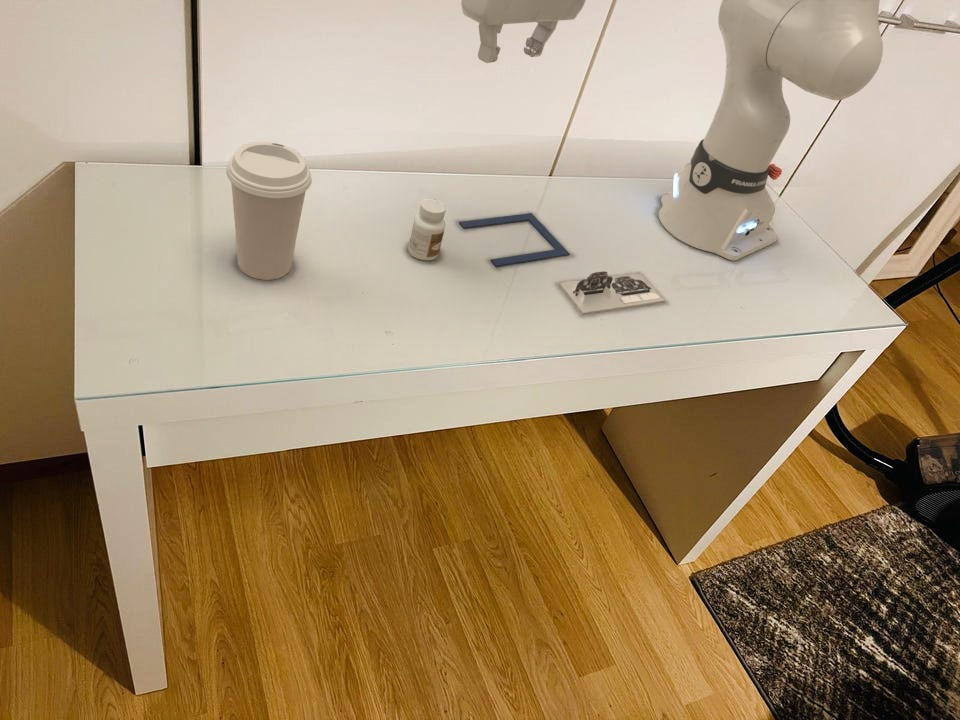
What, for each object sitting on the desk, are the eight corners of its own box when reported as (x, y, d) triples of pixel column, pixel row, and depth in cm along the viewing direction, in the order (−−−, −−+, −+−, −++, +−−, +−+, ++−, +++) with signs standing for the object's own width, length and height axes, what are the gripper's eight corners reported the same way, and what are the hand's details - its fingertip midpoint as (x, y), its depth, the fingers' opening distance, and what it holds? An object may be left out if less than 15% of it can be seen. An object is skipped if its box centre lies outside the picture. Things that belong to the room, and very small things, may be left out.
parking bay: (530, 214, 121) (531, 212, 121) (569, 255, 115) (570, 253, 115) (458, 223, 114) (459, 221, 114) (495, 267, 108) (496, 265, 108)
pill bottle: (434, 265, 105) (445, 218, 100) (404, 255, 105) (413, 208, 100) (441, 248, 108) (452, 202, 103) (412, 239, 108) (422, 192, 103)
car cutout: (582, 315, 105) (592, 290, 102) (558, 285, 109) (567, 260, 106) (664, 302, 112) (676, 278, 109) (638, 275, 116) (650, 251, 113)
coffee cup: (317, 262, 99) (329, 160, 89) (273, 298, 92) (280, 191, 82) (256, 233, 101) (261, 129, 91) (208, 265, 94) (208, 157, 84)
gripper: (517, -65, 72) (477, 76, 81) (616, -57, 87) (573, 62, 95) (467, -88, 74) (434, 52, 83) (572, -76, 89) (534, 42, 98)
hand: (509, 57), depth 89 cm, fingers open, 8 cm apart
